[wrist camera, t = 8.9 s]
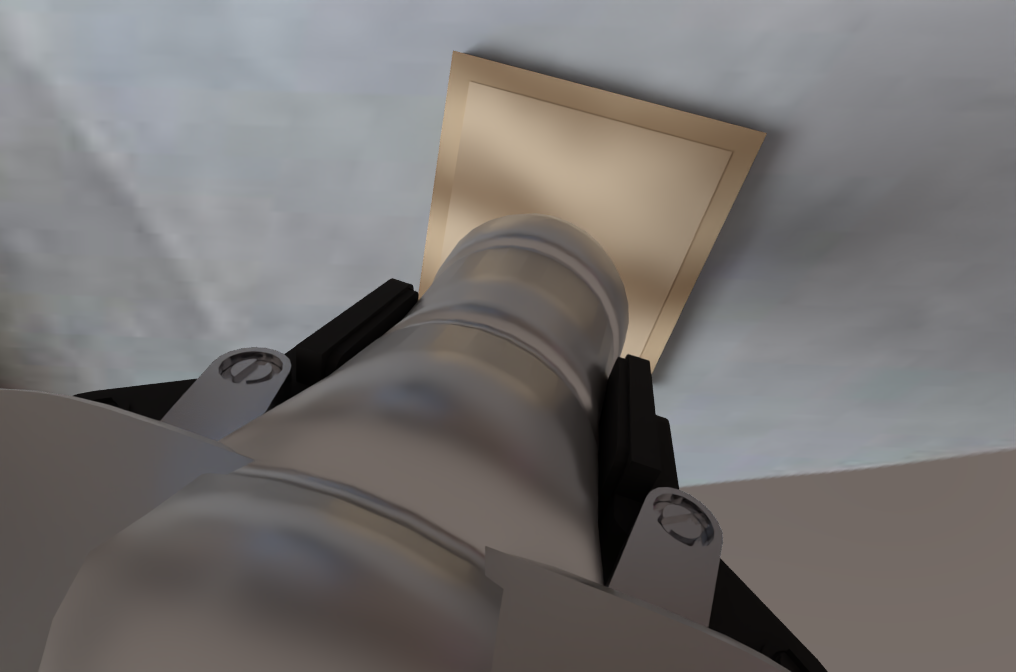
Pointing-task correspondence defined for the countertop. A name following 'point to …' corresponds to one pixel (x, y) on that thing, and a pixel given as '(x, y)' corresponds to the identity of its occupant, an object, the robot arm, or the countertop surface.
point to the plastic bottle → (382, 487)
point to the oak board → (589, 180)
